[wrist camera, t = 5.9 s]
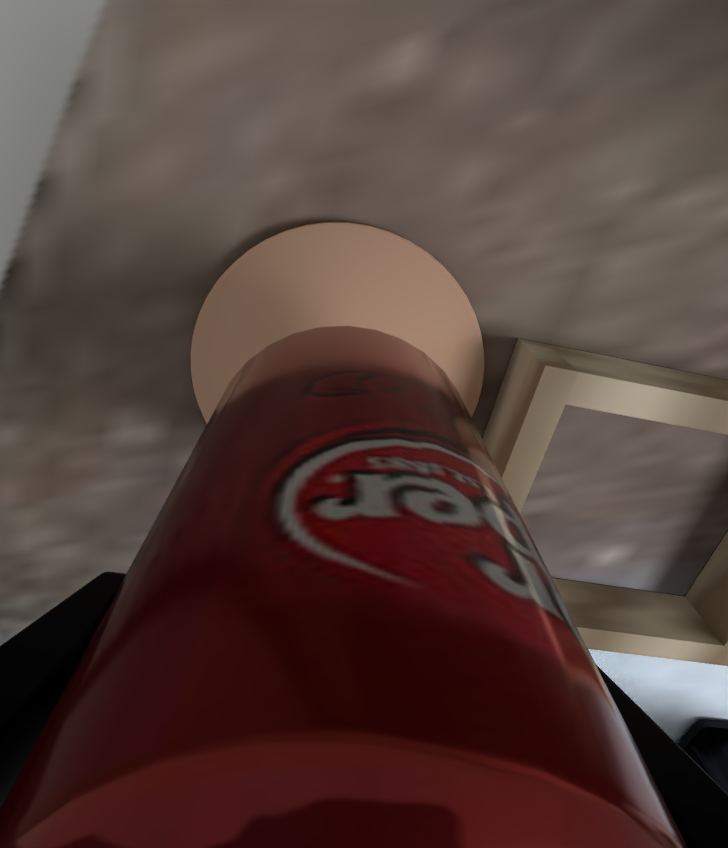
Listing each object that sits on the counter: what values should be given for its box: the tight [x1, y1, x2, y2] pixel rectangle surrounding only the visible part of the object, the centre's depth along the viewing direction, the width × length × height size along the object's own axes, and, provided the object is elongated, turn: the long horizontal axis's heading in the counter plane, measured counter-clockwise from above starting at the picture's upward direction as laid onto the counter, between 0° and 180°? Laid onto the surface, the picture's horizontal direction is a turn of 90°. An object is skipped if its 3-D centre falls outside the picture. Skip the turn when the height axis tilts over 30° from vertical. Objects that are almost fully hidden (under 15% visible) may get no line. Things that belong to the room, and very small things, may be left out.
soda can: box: [0, 326, 688, 848], centre depth 10 cm, size 7×7×12 cm
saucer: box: [191, 222, 484, 424], centre depth 20 cm, size 11×11×1 cm
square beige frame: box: [482, 338, 728, 666], centre depth 22 cm, size 14×12×3 cm
